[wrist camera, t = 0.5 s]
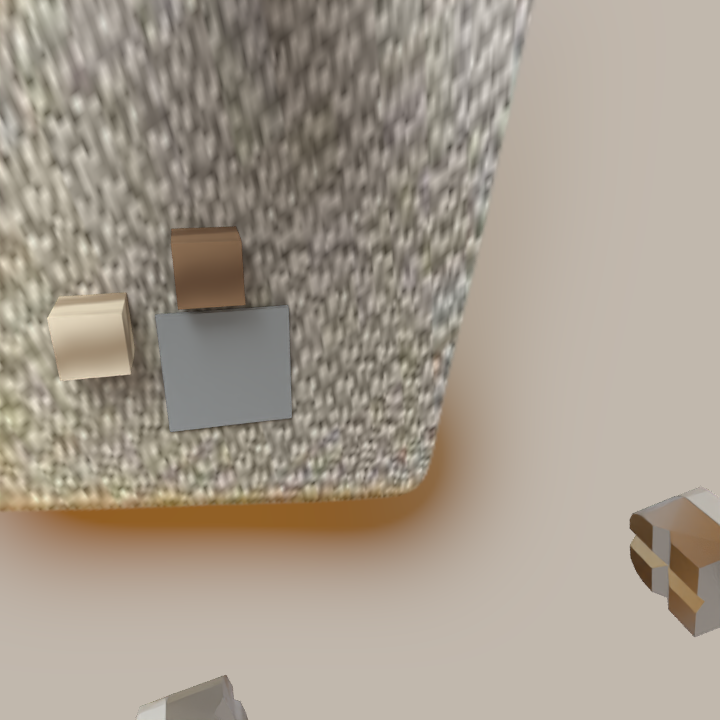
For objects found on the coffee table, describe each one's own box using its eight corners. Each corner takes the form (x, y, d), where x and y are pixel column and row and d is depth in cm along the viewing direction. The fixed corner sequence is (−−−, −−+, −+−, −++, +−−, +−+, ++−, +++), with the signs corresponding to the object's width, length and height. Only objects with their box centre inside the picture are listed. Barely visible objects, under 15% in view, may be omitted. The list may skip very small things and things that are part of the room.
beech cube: (59, 296, 47) (47, 318, 43) (126, 292, 49) (121, 313, 44) (70, 354, 49) (60, 380, 45) (134, 348, 51) (130, 374, 46)
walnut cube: (171, 228, 48) (170, 243, 43) (235, 226, 49) (241, 240, 44) (178, 289, 50) (178, 309, 45) (239, 285, 51) (245, 305, 46)
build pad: (155, 314, 50) (155, 316, 49) (287, 305, 53) (288, 307, 52) (170, 428, 54) (170, 431, 54) (290, 414, 57) (291, 417, 57)
